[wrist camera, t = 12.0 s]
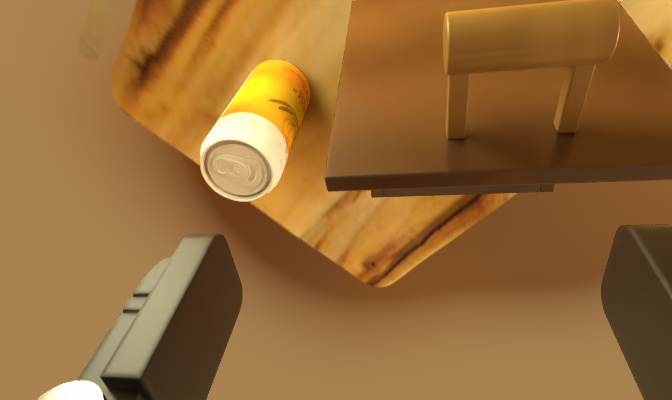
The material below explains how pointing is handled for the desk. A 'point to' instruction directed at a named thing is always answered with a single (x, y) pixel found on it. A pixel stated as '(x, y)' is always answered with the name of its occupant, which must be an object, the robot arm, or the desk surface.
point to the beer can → (256, 132)
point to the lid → (498, 96)
